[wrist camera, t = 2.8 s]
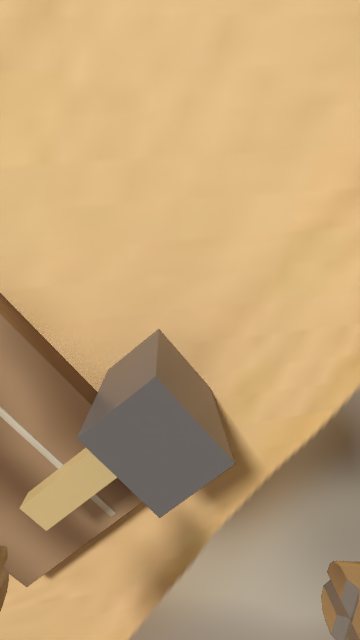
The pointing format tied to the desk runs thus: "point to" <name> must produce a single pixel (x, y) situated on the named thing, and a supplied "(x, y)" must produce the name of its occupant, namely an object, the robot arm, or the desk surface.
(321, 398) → the desk surface
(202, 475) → the gray-headed mallet
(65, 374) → the plank
